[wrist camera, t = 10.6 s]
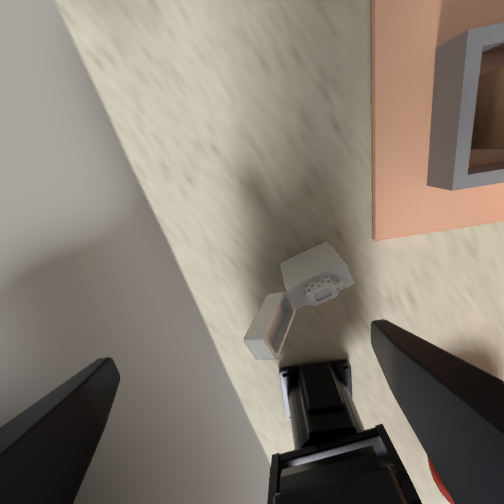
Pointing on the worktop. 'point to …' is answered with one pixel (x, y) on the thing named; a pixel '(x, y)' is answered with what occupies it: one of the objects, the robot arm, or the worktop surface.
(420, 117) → the block holder
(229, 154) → the worktop surface
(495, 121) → the wooden block
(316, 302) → the lighter
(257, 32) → the worktop surface
